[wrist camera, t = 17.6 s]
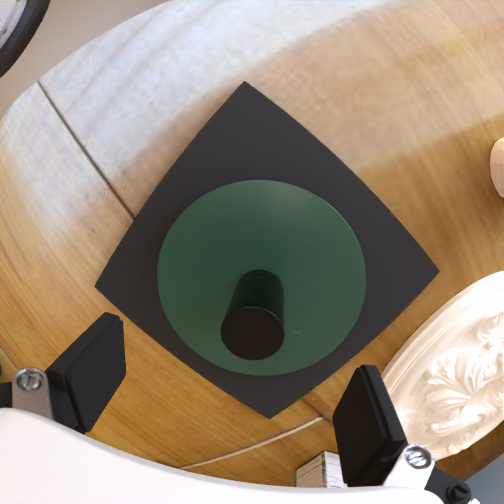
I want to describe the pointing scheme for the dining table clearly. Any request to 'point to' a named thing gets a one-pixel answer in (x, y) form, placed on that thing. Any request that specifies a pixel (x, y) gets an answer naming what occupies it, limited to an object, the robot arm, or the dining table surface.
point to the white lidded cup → (498, 166)
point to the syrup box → (320, 472)
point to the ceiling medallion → (453, 371)
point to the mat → (276, 169)
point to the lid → (261, 277)
